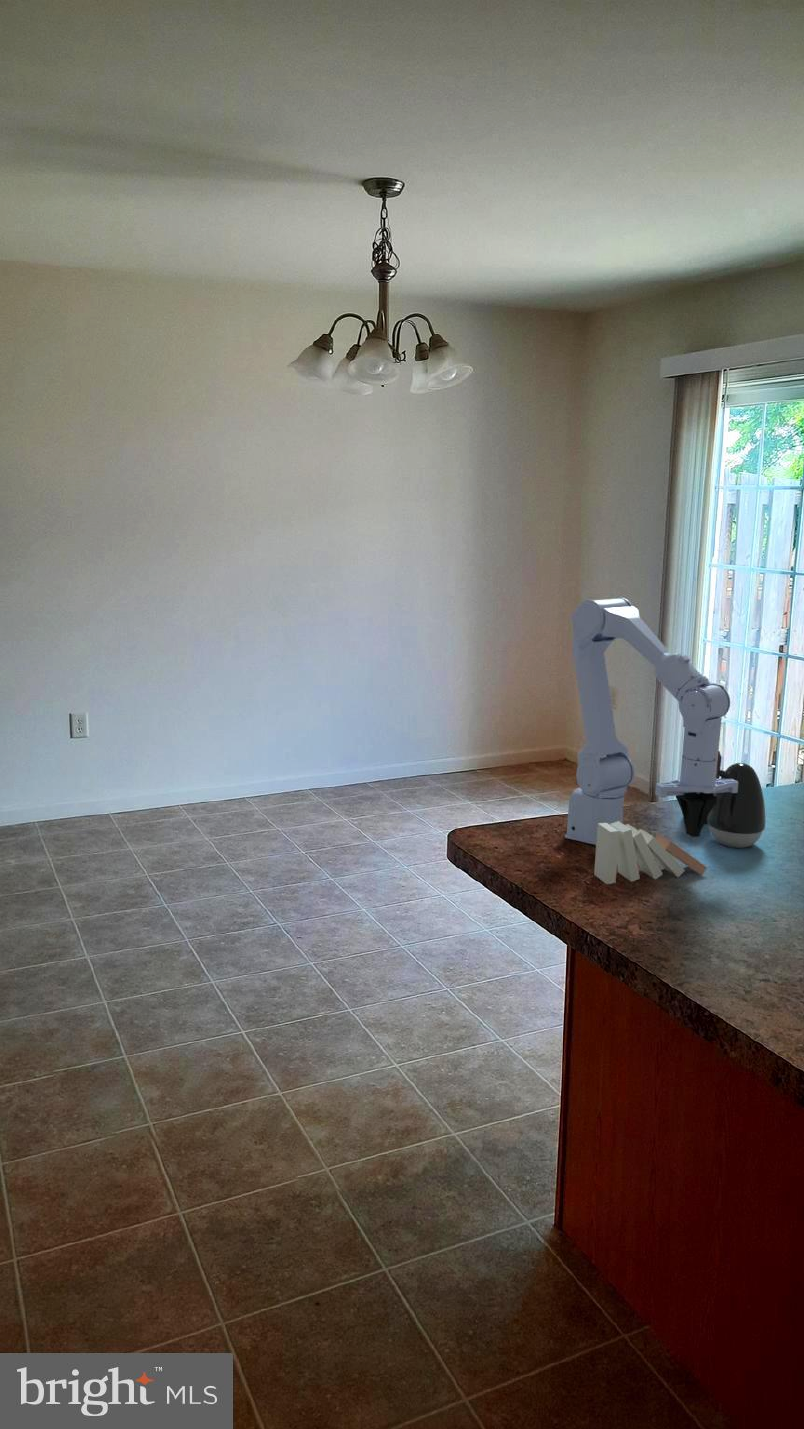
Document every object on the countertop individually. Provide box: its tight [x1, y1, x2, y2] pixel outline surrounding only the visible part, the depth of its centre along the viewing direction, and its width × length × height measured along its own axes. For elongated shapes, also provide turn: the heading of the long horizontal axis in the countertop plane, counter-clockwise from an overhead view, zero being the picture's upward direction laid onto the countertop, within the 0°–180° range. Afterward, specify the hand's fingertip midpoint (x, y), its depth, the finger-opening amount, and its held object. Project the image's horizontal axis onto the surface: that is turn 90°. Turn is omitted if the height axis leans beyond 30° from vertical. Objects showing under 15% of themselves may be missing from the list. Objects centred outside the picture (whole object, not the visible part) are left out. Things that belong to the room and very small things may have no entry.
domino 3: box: [624, 823, 664, 880], centre depth 175 cm, size 2×4×9 cm
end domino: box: [653, 832, 708, 876], centre depth 177 cm, size 2×4×9 cm
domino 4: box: [638, 828, 686, 878], centre depth 176 cm, size 2×4×9 cm
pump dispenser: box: [707, 762, 767, 849], centre depth 191 cm, size 10×10×15 cm
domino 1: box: [593, 823, 619, 885], centre depth 173 cm, size 2×4×9 cm, turn 17°
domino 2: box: [610, 821, 641, 883], centre depth 174 cm, size 2×4×9 cm, turn 16°
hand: (692, 835), depth 177 cm, fingers closed
